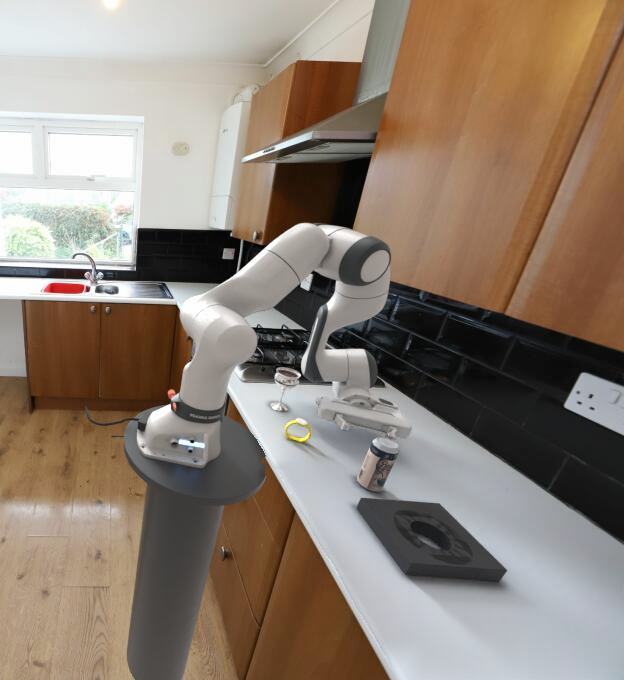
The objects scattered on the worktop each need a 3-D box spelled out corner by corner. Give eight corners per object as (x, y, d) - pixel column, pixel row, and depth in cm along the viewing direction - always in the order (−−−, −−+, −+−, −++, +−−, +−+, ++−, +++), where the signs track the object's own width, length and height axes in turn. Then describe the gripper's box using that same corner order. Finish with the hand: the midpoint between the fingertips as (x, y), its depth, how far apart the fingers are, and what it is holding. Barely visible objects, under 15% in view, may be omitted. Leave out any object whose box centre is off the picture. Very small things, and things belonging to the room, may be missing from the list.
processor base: (405, 574, 60) (411, 563, 59) (356, 508, 73) (360, 497, 72) (499, 582, 60) (507, 570, 59) (433, 513, 73) (439, 503, 72)
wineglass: (294, 413, 105) (305, 378, 101) (272, 412, 105) (282, 377, 101) (284, 401, 112) (294, 367, 107) (263, 400, 111) (272, 366, 107)
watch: (283, 439, 94) (288, 420, 91) (283, 433, 96) (288, 415, 94) (307, 446, 91) (314, 427, 89) (307, 440, 94) (313, 421, 91)
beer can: (373, 495, 77) (393, 452, 72) (351, 480, 81) (369, 438, 76) (385, 489, 79) (406, 446, 74) (364, 474, 83) (382, 433, 78)
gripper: (317, 386, 100) (324, 411, 88) (404, 405, 93) (423, 435, 81) (311, 405, 102) (317, 432, 90) (395, 425, 95) (413, 456, 83)
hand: (368, 433), depth 86 cm, fingers open, 8 cm apart
